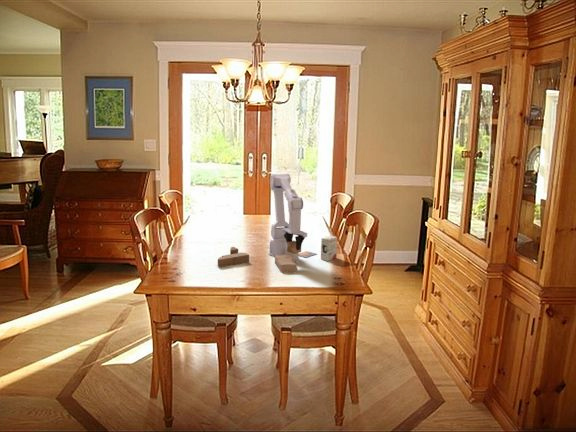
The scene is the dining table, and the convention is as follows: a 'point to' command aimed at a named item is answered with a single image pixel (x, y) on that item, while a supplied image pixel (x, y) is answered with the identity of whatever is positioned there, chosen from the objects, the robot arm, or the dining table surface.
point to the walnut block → (292, 247)
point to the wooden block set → (233, 258)
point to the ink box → (328, 248)
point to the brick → (285, 263)
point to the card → (306, 254)
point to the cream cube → (292, 255)
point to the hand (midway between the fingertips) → (294, 248)
